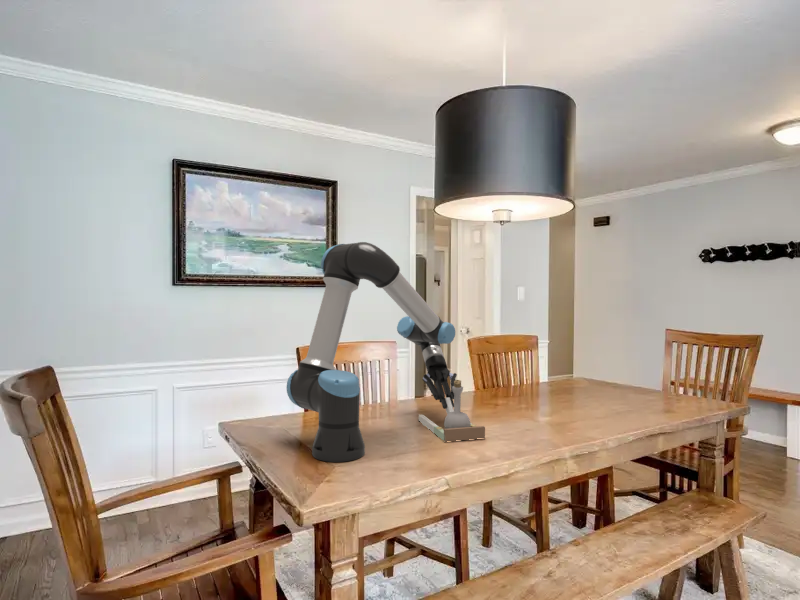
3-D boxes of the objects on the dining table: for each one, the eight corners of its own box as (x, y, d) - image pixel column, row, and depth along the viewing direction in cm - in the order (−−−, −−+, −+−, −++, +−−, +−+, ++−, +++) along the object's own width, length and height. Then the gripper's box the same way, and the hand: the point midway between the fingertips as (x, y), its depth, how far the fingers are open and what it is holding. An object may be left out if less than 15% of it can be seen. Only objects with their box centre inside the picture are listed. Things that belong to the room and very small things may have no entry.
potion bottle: (471, 432, 163) (472, 379, 162) (468, 439, 154) (469, 383, 154) (445, 430, 165) (446, 377, 165) (441, 437, 156) (441, 382, 156)
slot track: (485, 439, 155) (485, 426, 155) (444, 442, 151) (444, 429, 151) (453, 418, 180) (454, 408, 180) (418, 421, 176) (418, 410, 176)
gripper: (420, 354, 175) (436, 411, 160) (453, 353, 179) (472, 408, 163) (415, 367, 181) (430, 423, 165) (448, 365, 184) (465, 420, 169)
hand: (451, 415), depth 164 cm, fingers closed
